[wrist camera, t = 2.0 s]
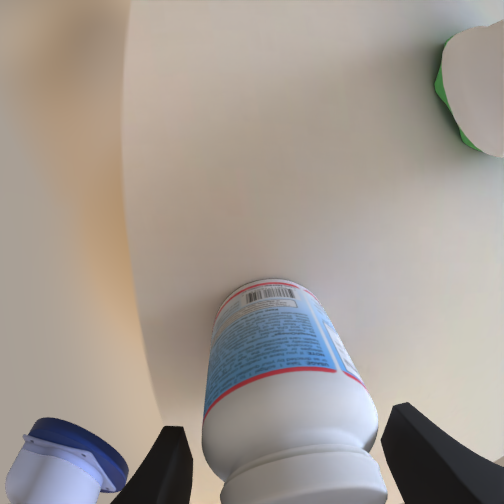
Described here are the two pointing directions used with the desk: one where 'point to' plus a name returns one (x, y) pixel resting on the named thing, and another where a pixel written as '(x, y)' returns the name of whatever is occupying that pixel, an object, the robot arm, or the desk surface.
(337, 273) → the desk surface
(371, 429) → the pill bottle
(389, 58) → the desk surface
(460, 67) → the cup
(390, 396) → the desk surface
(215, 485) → the desk surface
